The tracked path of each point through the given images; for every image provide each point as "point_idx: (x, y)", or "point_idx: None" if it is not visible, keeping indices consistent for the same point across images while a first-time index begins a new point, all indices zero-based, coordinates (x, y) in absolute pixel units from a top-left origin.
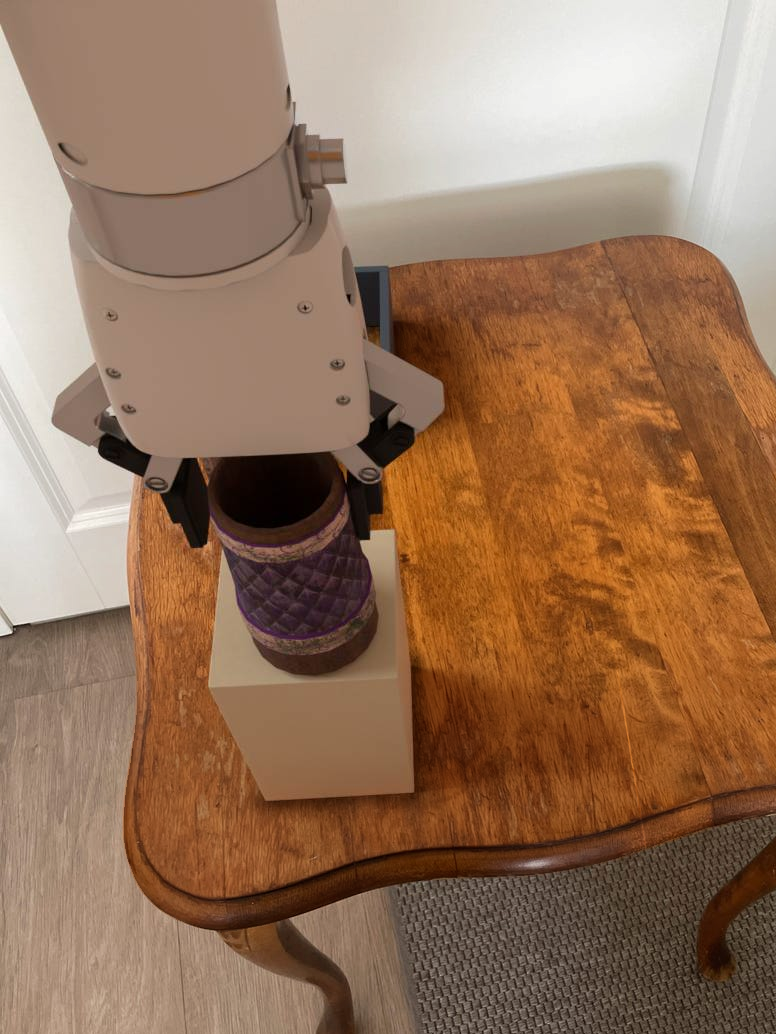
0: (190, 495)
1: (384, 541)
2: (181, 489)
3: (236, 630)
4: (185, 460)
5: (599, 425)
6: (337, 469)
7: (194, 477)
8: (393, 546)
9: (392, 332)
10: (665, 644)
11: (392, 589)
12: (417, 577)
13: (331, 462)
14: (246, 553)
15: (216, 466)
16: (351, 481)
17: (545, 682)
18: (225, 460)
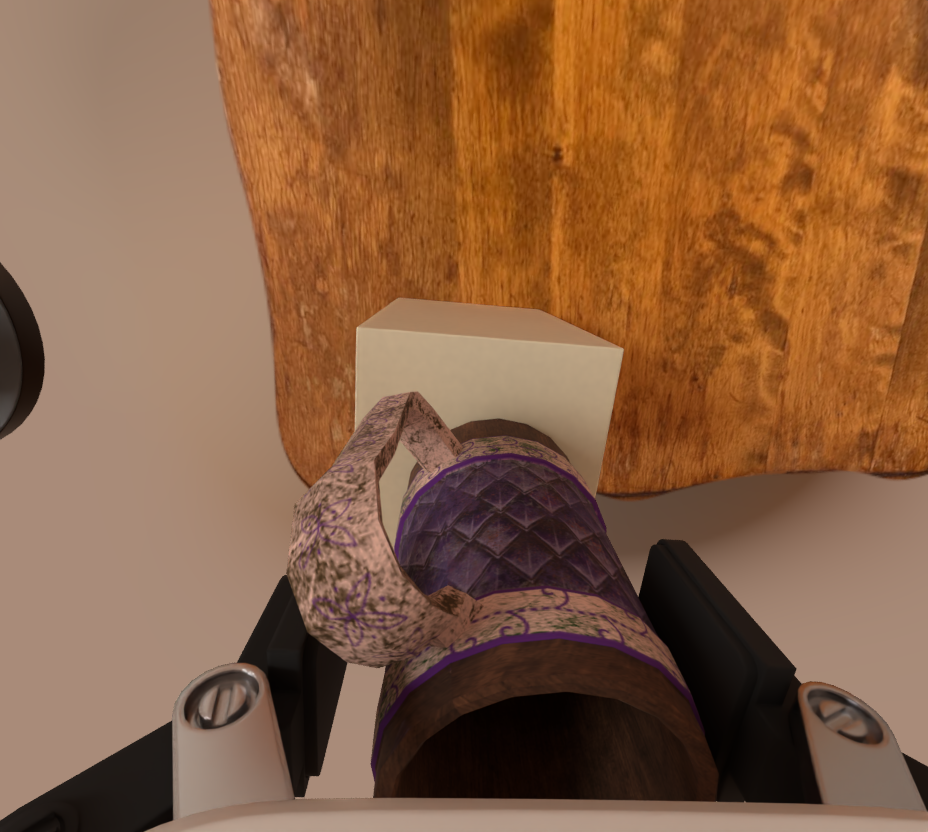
0: (325, 734)
1: (604, 370)
2: (303, 782)
3: (384, 490)
4: (301, 705)
5: None
6: (714, 799)
7: (327, 667)
8: (616, 382)
9: None
10: (797, 322)
11: (599, 453)
12: (567, 188)
13: (705, 782)
14: None
15: (394, 761)
16: (726, 787)
17: (666, 348)
18: (418, 745)
